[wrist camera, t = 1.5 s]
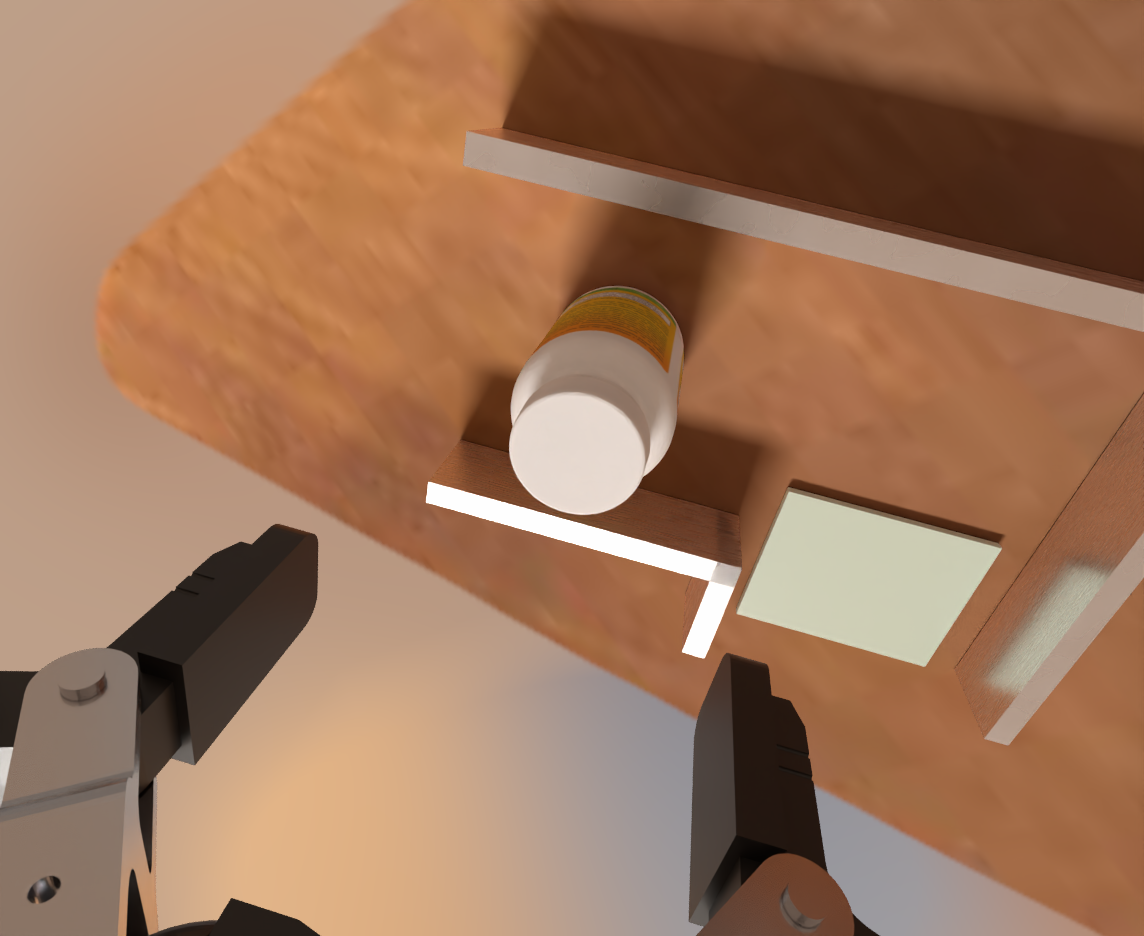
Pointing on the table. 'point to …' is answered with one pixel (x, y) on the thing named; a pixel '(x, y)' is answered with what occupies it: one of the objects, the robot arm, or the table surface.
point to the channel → (712, 537)
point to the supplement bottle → (597, 401)
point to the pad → (863, 576)
